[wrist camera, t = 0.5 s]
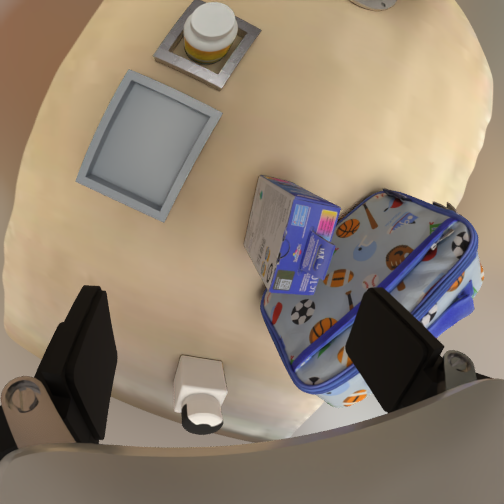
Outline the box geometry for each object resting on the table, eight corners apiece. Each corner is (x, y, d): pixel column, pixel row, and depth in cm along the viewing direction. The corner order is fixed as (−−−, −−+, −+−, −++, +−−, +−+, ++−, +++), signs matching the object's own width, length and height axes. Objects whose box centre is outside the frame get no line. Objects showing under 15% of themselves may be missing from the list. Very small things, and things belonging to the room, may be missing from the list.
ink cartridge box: (280, 252, 40) (323, 310, 27) (242, 247, 39) (270, 308, 26) (299, 182, 37) (356, 213, 24) (258, 174, 35) (300, 201, 22)
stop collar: (195, 6, 25) (195, -2, 23) (257, 36, 28) (261, 30, 26) (155, 60, 27) (152, 55, 25) (219, 91, 30) (221, 88, 28)
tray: (133, 74, 27) (128, 69, 24) (220, 114, 32) (222, 113, 29) (83, 177, 31) (75, 181, 28) (166, 215, 35) (164, 222, 32)
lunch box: (383, 166, 38) (507, 210, 19) (409, 216, 43) (512, 275, 23) (245, 291, 42) (292, 417, 22) (287, 327, 46) (342, 438, 26)
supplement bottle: (183, 29, 26) (182, -2, 17) (227, 26, 27) (241, -6, 18) (185, 68, 28) (184, 45, 20) (230, 64, 29) (245, 41, 21)
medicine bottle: (211, 386, 49) (220, 440, 38) (173, 381, 46) (174, 436, 36) (222, 360, 46) (233, 417, 36) (180, 353, 44) (183, 412, 33)
